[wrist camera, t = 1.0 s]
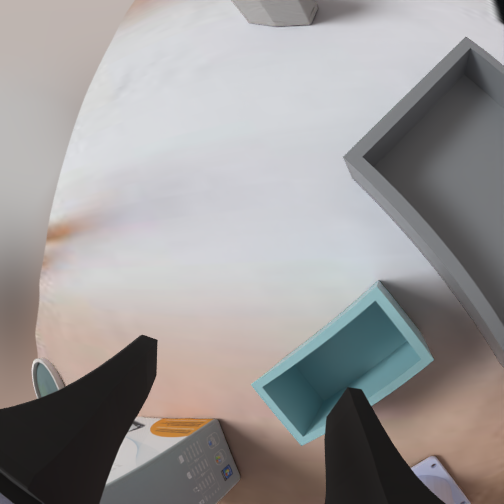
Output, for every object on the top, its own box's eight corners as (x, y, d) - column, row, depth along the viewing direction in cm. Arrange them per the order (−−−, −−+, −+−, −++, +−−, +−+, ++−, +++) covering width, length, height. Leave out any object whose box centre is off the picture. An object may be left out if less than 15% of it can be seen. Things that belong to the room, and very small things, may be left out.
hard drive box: (219, 414, 24) (27, 525, 6) (244, 478, 23) (98, 603, 5) (119, 413, 30) (-20, 460, 12) (140, 464, 29) (17, 524, 11)
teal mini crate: (421, 333, 18) (434, 359, 12) (324, 405, 20) (301, 445, 15) (378, 280, 19) (376, 286, 14) (284, 357, 22) (250, 384, 16)
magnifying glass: (129, 514, 32) (121, 519, 30) (36, 381, 43) (28, 383, 41) (156, 500, 29) (147, 506, 27) (45, 342, 40) (36, 343, 38)
